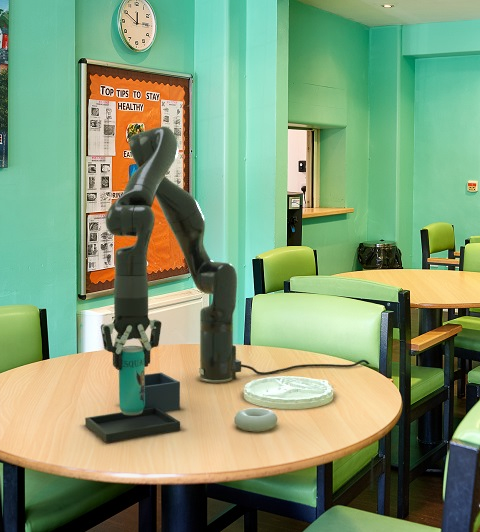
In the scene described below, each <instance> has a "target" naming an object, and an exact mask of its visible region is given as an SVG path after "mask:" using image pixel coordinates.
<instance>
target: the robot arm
mask: <svg viewBox="0 0 480 532" xmlns="http://www.w3.org/2000/svg"><path fill="white" fill-rule="evenodd" d="M128 147H129V151H130V155H131V156H132V158H133V161H134V163H135V165H136V167H137V169H136V170H135V171H134V172H133V173H132V174H131V176H130V177H129V179H128V181H127V183H126V186H125V188H124V191H123V193H122V194H121V195H120V196H119V197H118V198H116V200H115V201H113V203H112V204H110V207H109V208H108V210H107V212H106V215H105V227H106V230H107V231H108V232H109V233H110V234H111V235H112V236H115V237H129V238H131V237H133V238H136V241H135V243H133V244H132V245H129V246H124V247H119V248H118V249H116V251H115V252H114V281H113V301H114V302H113V307H114V308H113V309H114V311H113V313H114V319H113V321H112V323H108V324H105V323H104V324H103V323H102V324H101V325H100V332H101V337H102V338H101V339H102V343H103V349H104V350H105V351H107V352H108V353H112V366H113V367H114V368H115V370H117V371H119V370H121V369H122V354H121V350H122V348H123V347H124V346H126V344H127V341H130V340H133V339H134V340H138V342H139V343H140V346H141V347H143V352H144V355H145V368H147V367H149V365H150V364H151V350H152V349H154V348H157V347H159V345H160V338H161V330H162V321H161V320H158V319H150V318H149V281H148V250H149V245H150V240H151V237H152V234H153V231H154V227H155V221H156V219H155V213H154V211H153V209H152V207H153V204H154V201H155V199H156V201H157V203H158V205H159V207H160V209H161V212H162V214H163V216H164V219H165V220H166V222H167V224H168V226H169V228H170V230H171V232H172V233H173V235H174V237H175V239H176V242H177V243H178V246H179V248H180V250H181V252H182V254H183V257H184V259H185V261H186V264H187V267H188V269H189V272H190V277H191V278H192V281H193V283H194V285H195V287H196V289H197V290H198V291H200V292H201V293H203V294H206V295H212V299H211V303H210V304H209V305H207V306H204V307H202V308H201V309H200V312H199V369H198V370H199V371H198V373H199V380H200V381H201V382H205V383H212V384H221V383H228V382H231V381H233V380H236V379H237V373H241V372H242V368H245V369H249V370H251V371H253V372H254V373H255V374H257V375H260V376H265V375H274V374H275V373H280V372H286V371H290V370H293V369H298V368H310V367H315V368H316V367H326V368H327V367H328V368H329V367H330V368H332V367H333V368H353V367H356V366H358V365H360V364H361V363H365V364H367V365H370V362H369V361H368V360H366V359H360V360H358V361H357V362H355V363H352V364H351V363H350V364H335V363H334V364H332V363H331V364H330V363H326V364H325V363H310V364H309V363H308V364H298V365H292V366H287V367H284V368H279V369H275V370H270V371H263V372H262V371H258V370H257V369H255V368H254V367H253V366H251V365H247V364H242V361H241V360H240V359H237V346H236V345H234V313H235V310H236V307H237V291H238V289H237V288H238V274H237V270H236V268H235V267H234V265H233V264H231V263H228V262H222V261H214V260H212V259H211V258H210V256H209V254H208V252H207V250H206V247H205V244H204V238H205V237H204V236H205V232H206V231H205V230H206V221H205V217H204V215H203V213H202V211H201V208H200V206H199V204H198V202H197V200H196V199H195V198H194V197H193V195H192V194H190V192H188V191H187V190H185V189H183V188H182V187H181V186H179V185H178V184H176V183H174V182H173V181H172V180H170V179H169V178H168V177H167V176H166V175H167V173H168V172H169V170H170V168H171V167H172V166H173V164H174V163H175V161H176V159H177V157H178V153H179V144H178V141H177V137H176V135H175V133H174V132H173V130H172V129H171V128H170V127H168V126H159V127H158V126H157V127H154V128H151V129H148V130H144V131H141V132H137V133H134V134H133V135H131V136H130V138H129V140H128ZM148 328H149V329H150V338H149V337H148V336H147V333H146V331H147V329H148ZM113 330H115V332H116V336H115V338H114V343H113V340H112V334H113V332H114V331H113ZM374 459H375V457H371V459H370V460H371V461H370V462H371V463H370V491H374Z"/></svg>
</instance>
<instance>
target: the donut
mask: <svg viewBox="0 0 480 532" xmlns="http://www.w3.org/2000/svg"><path fill="white" fill-rule="evenodd" d="M233 421H234V424H235V425H236V427H237V428H239V429H241V430H243V431H247V432H265V431H269V430H272V429H273V428H275V427H276V426H277V424H278V415H277V414H276V413H275V412H274V411H273V410H270V409H267V408H262V407H248V408H244V409H241V410H239V411H238V412H236V414H235V415H234V419H233Z"/></svg>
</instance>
